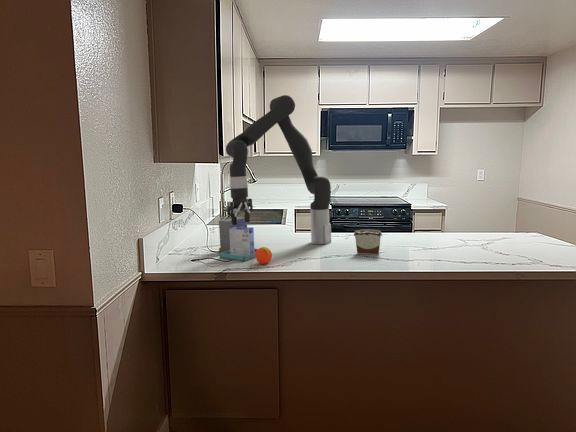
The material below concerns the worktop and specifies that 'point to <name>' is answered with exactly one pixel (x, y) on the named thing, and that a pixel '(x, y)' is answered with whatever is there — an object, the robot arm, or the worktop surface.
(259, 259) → the clementine
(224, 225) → the printer unit
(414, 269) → the worktop surface
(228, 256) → the tray
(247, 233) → the ink cartridge box
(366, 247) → the food container
